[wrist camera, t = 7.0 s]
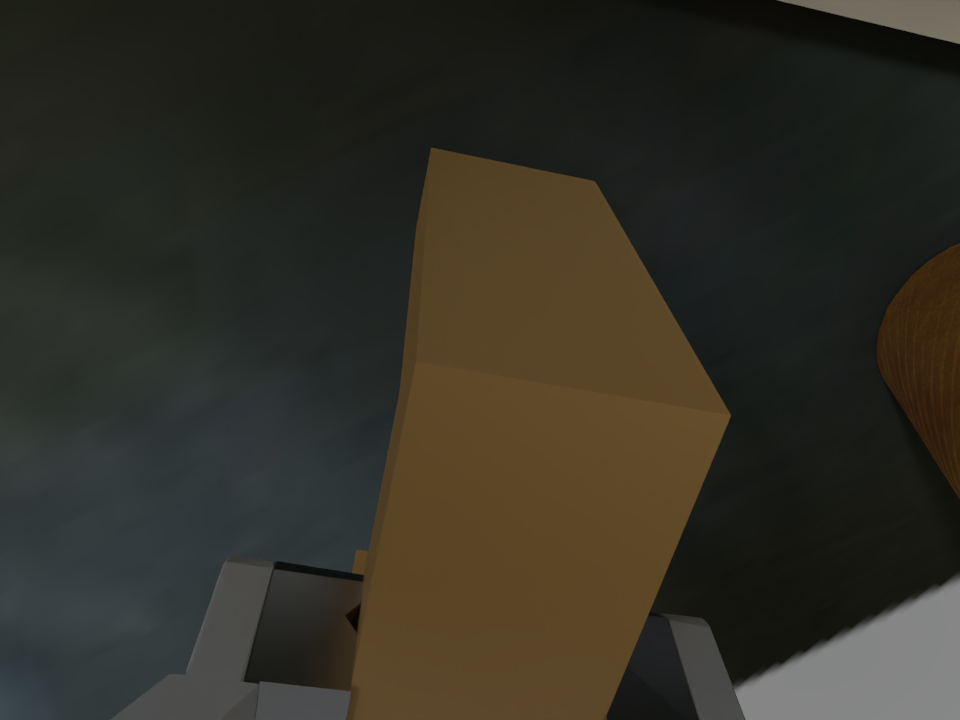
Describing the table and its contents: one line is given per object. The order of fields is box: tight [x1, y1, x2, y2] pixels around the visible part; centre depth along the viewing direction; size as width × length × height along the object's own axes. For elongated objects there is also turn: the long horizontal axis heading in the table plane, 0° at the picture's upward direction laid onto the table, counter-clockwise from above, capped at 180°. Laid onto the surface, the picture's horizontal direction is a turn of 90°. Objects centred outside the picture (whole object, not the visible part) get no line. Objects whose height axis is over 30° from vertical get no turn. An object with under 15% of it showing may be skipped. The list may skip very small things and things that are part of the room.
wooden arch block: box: [346, 148, 731, 720], centre depth 11 cm, size 9×2×6 cm, turn 168°
